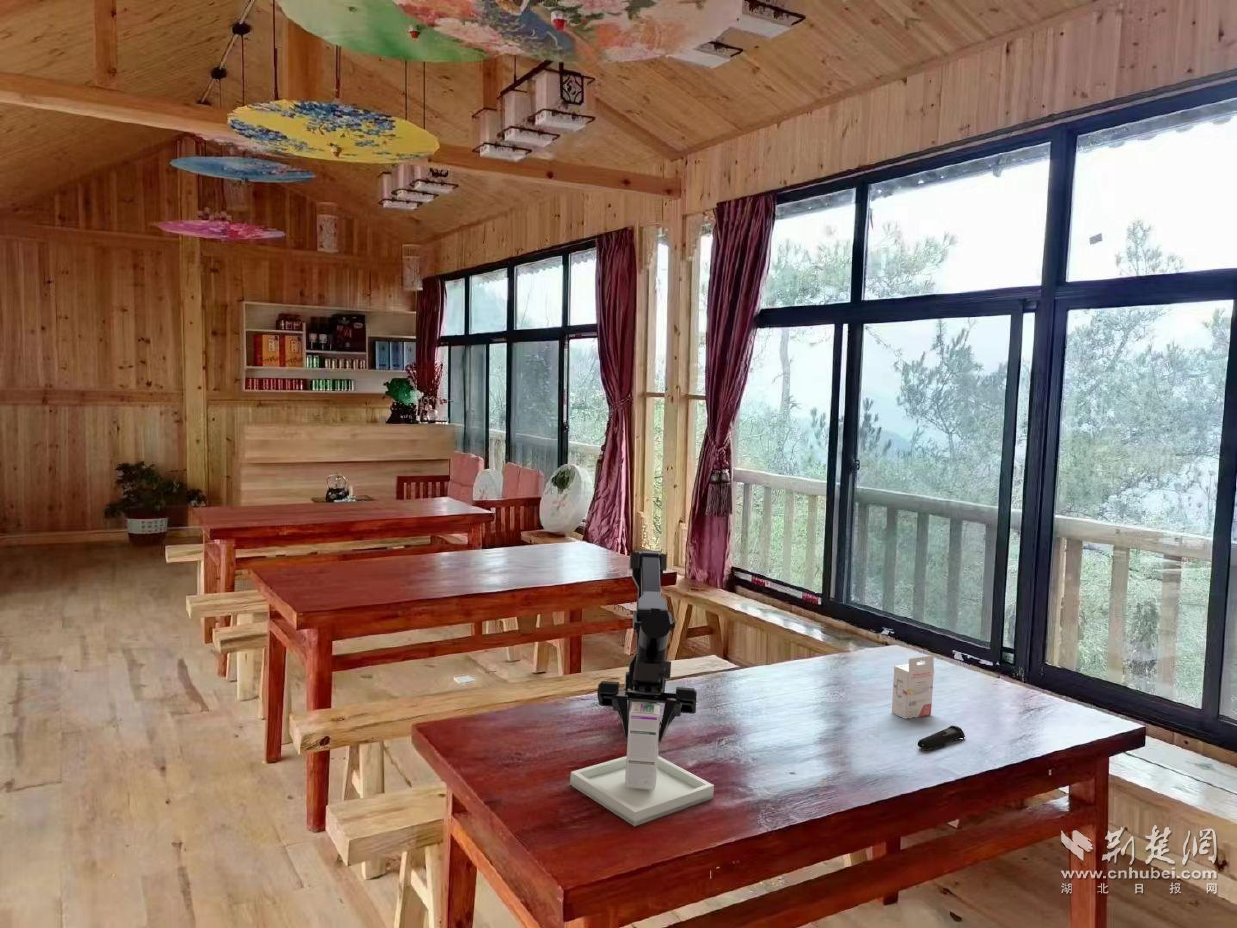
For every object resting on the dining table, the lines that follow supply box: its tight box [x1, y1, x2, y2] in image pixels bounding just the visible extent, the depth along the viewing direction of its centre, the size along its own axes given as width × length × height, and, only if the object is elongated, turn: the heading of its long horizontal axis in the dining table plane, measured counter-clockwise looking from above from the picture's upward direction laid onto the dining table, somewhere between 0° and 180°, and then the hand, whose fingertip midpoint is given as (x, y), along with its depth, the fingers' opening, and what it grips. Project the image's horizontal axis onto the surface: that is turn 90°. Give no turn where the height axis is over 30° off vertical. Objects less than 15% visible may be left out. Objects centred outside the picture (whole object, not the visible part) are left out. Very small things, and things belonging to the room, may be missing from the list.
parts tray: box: [569, 755, 715, 827], centre depth 163 cm, size 19×19×2 cm
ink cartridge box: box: [891, 655, 935, 720], centre depth 211 cm, size 9×5×15 cm, turn 117°
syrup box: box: [625, 702, 662, 790], centre depth 163 cm, size 6×6×14 cm
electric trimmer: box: [917, 725, 966, 751], centre depth 194 cm, size 4×16×3 cm, turn 128°
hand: (643, 740), depth 162 cm, fingers closed on syrup box, 6 cm apart
